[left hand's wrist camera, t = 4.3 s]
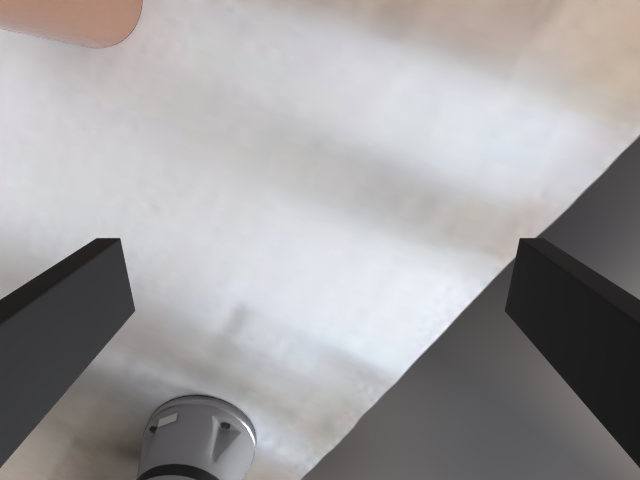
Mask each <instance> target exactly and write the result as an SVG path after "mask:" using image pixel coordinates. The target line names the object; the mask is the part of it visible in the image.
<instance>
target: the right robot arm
mask: <svg viewBox="0 0 640 480" xmlns="http://www.w3.org/2000/svg"><path fill="white" fill-rule="evenodd" d="M255 448H256V434H255V430H254V428H253V426H252V424H251V422H250V421H249V419H248V418H247V417H246V416H245V415H244V414H243V413H242V412H241V411H240V410H238V409H237V408H235V407H234V406H232V405H230V404H228V403H226V402H224V401H221V400H218V399H215V398H211V397H204V396H187V397H181V398H177V399H174V400H172V401H169V402H167V403H166V404H164V405H162V406H161V407H160V408H159V409H158V410H156V412H155V413H154V414H153V415H152V417H151V419H150V421H149V423H148V425H147V427H146V429H145V432H144V435H143V439H142V445H141V453H140V460H139V467H138V475H137V479H136V480H243V478H244V476H245V475H246V473H247V471H248V469H249V467H250V465H251V463H252V460H253V457H254V453H255Z"/></svg>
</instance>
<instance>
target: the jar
mask: <svg viewBox="0 0 640 480" xmlns="http://www.w3.org/2000/svg"><path fill="white" fill-rule="evenodd" d="M141 8H142V0H0V29H1V30H6V31H11V32H15V33H20V34H25V35H30V36H35V37H40V38H44V39H49V40H54V41H59V42H64V43H69V44H73V45H78V46H83V47H88V48H106V47H111V46H113V45H116V44H118V43H119V42H121V41H123V40H124V39H125V38H126V37H127V36H128V35H129V34H130V33H131V32H132V31H133V29H134V27H135V26H136V24H137V22H138V19H139V16H140V13H141Z"/></svg>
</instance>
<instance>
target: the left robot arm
mask: <svg viewBox="0 0 640 480" xmlns="http://www.w3.org/2000/svg"><path fill="white" fill-rule="evenodd" d="M134 312H135V307H134V303H133V298H132V293H131V288H130V283H129V279H128V274H127V269H126V264H125V259H124V254H123V250H122V245H121V240H120V238H96V239H95V240H93V241H92V242H90V243H89V244H87V245H85V246H84V247H82V248H81V249H79V250H78V251H76V252H74V253H73V254H71V255H70V256H68V257H67V258H65V259H64V260H62V261H60V262H59V263H57V264H56V265H54V266H53V267H51V268H49V269H48V270H46V271H45V272H43V273H42V274H40V275H39V276H37V277H35V278H34V279H32V280H31V281H29V282H28V283H26V284H24V285H23V286H21V287H20V288H18V289H17V290H15V291H14V292H12V293H10V294H9V295H7V296H6V297H4V298H3V299H1V300H0V468H1V466H2V465H3V464H4V463H5V462H6V461H7V459H8V458H9V457H10V456H11V455H12V454H13V453H14V451H15V450H16V449H17V448H18V447H19V446H20V444H21V443H22V442H23V441H24V440H25V439H26V437H27V436H28V435H29V434H30V433H31V432H32V430H33V429H34V428H35V427H36V426H37V425H38V423H39V422H40V421H41V420H42V419H43V418H44V416H45V415H46V414H47V413H48V412H49V411H50V409H51V408H52V407H53V406H54V405H55V404H56V402H57V401H58V400H59V399H60V398H61V397H62V395H63V394H64V393H65V392H66V391H67V390H68V388H69V387H70V386H71V385H72V384H73V383H74V381H75V380H76V379H77V378H78V377H79V376H80V374H81V373H82V372H83V371H84V370H85V369H86V367H87V366H88V365H89V364H90V363H91V362H92V360H93V359H94V358H95V357H96V356H97V355H98V353H99V352H100V351H101V350H102V349H103V348H104V346H105V345H106V344H107V343H108V342H109V341H110V340H111V338H112V337H113V336H114V335H115V334H116V333H117V331H118V330H119V329H120V328H121V327H122V326H123V324H124V323H125V322H126V321H127V320H128V319H129V317H130V316H131V315H132V314H133V313H134ZM505 312H506V313H507V314H508V315H509V316H510V317H511V319H512V320H513V321H514V322H515V323H516V324H517V326H518V327H519V328H520V329H521V330H522V331H523V333H524V334H525V335H526V336H527V337H528V338H529V340H530V341H531V342H532V343H533V344H534V345H535V346H536V348H537V349H538V350H539V351H540V352H541V353H542V355H543V356H544V357H545V358H546V359H547V360H548V362H549V363H550V364H551V365H552V366H553V367H554V369H555V370H556V371H557V372H558V373H559V374H560V376H561V377H562V378H563V379H564V380H565V381H566V383H567V384H568V385H569V386H570V387H571V388H572V390H573V391H574V392H575V393H576V394H577V395H578V397H579V398H580V399H581V400H582V401H583V402H584V404H585V405H586V406H587V407H588V408H589V409H590V410H591V412H592V413H593V414H594V415H595V416H596V418H597V419H598V420H599V421H600V422H601V423H602V425H603V426H604V427H605V428H606V429H607V430H608V432H609V433H610V434H611V435H612V436H613V437H614V438H615V440H616V441H617V442H618V443H619V444H620V445H621V447H622V448H623V449H624V450H625V451H626V452H627V454H628V455H629V456H630V457H631V458H632V459H633V461H634V462H635V463H636V464H637V465H638V466H639V468H640V300H639V299H637V298H636V297H634V296H633V295H631V294H630V293H628V292H626V291H625V290H623V289H622V288H620V287H619V286H617V285H616V284H614V283H612V282H611V281H609V280H608V279H606V278H605V277H603V276H601V275H600V274H598V273H597V272H595V271H594V270H592V269H591V268H589V267H587V266H586V265H584V264H583V263H581V262H580V261H578V260H576V259H575V258H573V257H572V256H570V255H569V254H567V253H565V252H564V251H562V250H561V249H559V248H558V247H556V246H555V245H553V244H551V243H550V242H548V241H547V240H545V239H544V238H520V240H519V245H518V250H517V254H516V259H515V264H514V269H513V274H512V279H511V284H510V288H509V293H508V298H507V303H506V308H505Z"/></svg>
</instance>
